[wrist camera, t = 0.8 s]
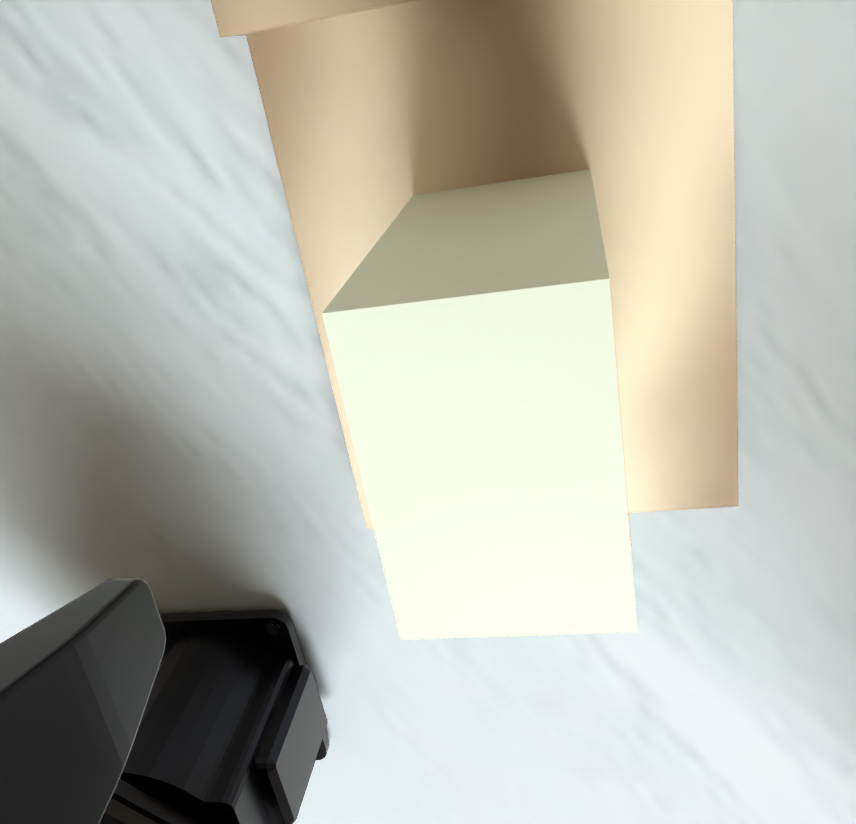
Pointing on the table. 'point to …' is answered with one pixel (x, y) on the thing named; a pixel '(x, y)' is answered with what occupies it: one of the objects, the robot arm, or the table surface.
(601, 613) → the carton
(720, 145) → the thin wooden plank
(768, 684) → the table surface
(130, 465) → the table surface
